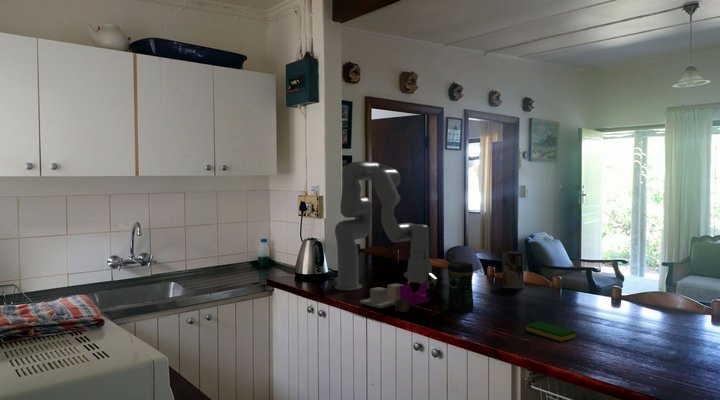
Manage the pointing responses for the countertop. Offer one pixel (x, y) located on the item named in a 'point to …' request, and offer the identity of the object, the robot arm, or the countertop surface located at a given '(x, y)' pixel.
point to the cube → (402, 305)
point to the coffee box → (513, 270)
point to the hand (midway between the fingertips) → (420, 296)
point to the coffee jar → (460, 286)
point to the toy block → (414, 294)
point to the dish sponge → (551, 331)
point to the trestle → (383, 296)
